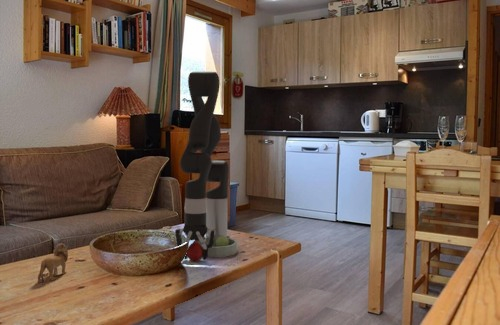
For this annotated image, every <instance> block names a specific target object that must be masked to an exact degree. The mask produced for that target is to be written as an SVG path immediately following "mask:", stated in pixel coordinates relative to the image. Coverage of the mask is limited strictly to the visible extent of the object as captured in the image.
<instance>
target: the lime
mask: <svg viewBox="0 0 500 325" xmlns="http://www.w3.org/2000/svg"><path fill="white" fill-rule="evenodd" d="M228 238H229V237H225V236H220V237H218V238H217V240H216V246H217V247H221V246H228V245H229V240H228Z"/></svg>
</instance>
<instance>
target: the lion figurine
mask: <svg viewBox="0 0 500 325" xmlns="http://www.w3.org/2000/svg"><path fill="white" fill-rule="evenodd" d="M52 251H53V256H52V257H46V258H44V259H43V260H42V261H41V263H40V271H39V272H38V274H37V283H41V284H44V282H45V279H44V272H45V270H46V269H47V271H48V273H49V275H48V277H49V278H50V279H51V280H52V281H56V280H57V277H54V276H53V275H56V274H58V267H60V266H61V274H62V275H66V274H67V272H66V264H67V262H68V260H69V259H68V256H69V253H68V246H66V245H65V243H57V245H55V246H54V249H53V250H52Z"/></svg>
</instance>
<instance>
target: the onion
mask: <svg viewBox="0 0 500 325" xmlns="http://www.w3.org/2000/svg"><path fill="white" fill-rule="evenodd" d="M187 247H188V250H187V256H188V258H187V259H189V260H190V261H192V262H194V263H195V262H199V261H200V260H201V259H203V247H202V246H201V245H200V244H199V243H198V241H197V240H193V241H192V243H190V244H189V246H187Z"/></svg>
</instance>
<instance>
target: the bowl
mask: <svg viewBox="0 0 500 325" xmlns="http://www.w3.org/2000/svg"><path fill="white" fill-rule="evenodd" d="M217 238H218V237H214V244H213V246H212V247H211V248H208V257H207V258H225V257H226V258H227V257H230V256H234V255H236V254H237V253H238V250H239V249H238V248H239V247H238V246H239V244H238V242H239V241H238V240H236V239H235V238H232V237H227V238H228V240H229V245H228V246H221V247H217V246H216V240H217ZM205 239H206V242H207V244H209V241H210V237H207V236H205ZM198 243H199V244H200V245H201V246H202V244H201V242H200V240H199V241H198ZM202 247H203V246H202ZM203 249H204V248H203Z"/></svg>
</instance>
